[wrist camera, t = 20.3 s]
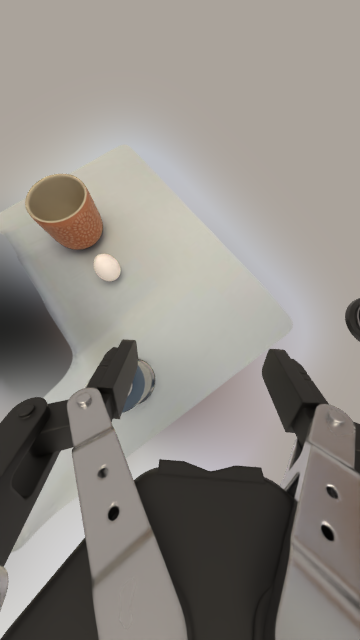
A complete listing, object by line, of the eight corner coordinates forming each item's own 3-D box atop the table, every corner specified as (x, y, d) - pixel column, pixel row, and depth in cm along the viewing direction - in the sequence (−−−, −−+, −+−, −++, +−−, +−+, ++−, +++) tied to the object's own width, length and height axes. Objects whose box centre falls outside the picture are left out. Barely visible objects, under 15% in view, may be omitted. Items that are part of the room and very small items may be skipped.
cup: (163, 371, 39) (157, 372, 30) (140, 413, 37) (127, 427, 28) (126, 351, 40) (111, 346, 31) (102, 390, 38) (79, 396, 30)
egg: (111, 262, 46) (97, 242, 39) (128, 272, 45) (118, 253, 38) (97, 279, 45) (81, 262, 38) (115, 289, 44) (102, 274, 37)
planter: (93, 207, 50) (69, 163, 39) (117, 239, 47) (98, 201, 37) (51, 231, 48) (14, 192, 38) (74, 265, 46) (41, 234, 35)
